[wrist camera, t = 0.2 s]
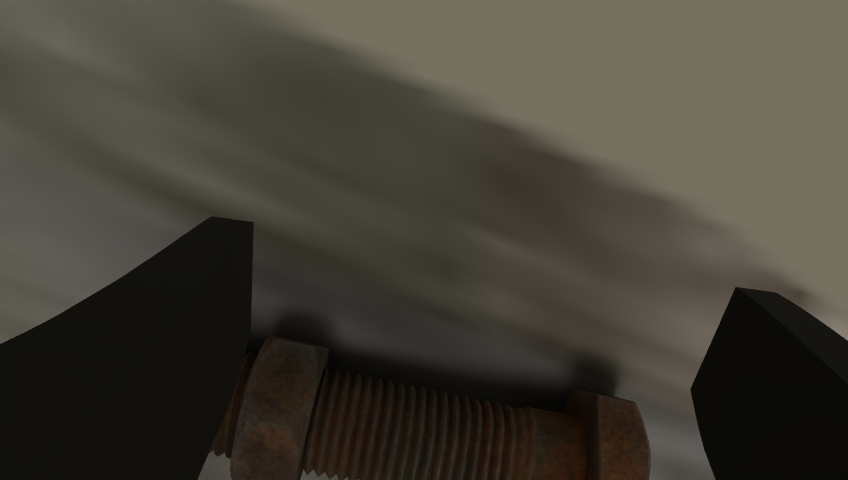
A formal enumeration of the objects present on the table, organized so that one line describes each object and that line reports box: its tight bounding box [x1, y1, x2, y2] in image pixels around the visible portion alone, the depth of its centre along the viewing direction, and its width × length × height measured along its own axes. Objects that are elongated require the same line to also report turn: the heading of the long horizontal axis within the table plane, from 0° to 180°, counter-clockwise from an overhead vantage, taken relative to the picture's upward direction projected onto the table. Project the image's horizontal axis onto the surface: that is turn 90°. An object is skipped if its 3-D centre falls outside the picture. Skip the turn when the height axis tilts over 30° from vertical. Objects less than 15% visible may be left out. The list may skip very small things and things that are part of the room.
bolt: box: [209, 336, 651, 480], centre depth 22 cm, size 6×5×15 cm
